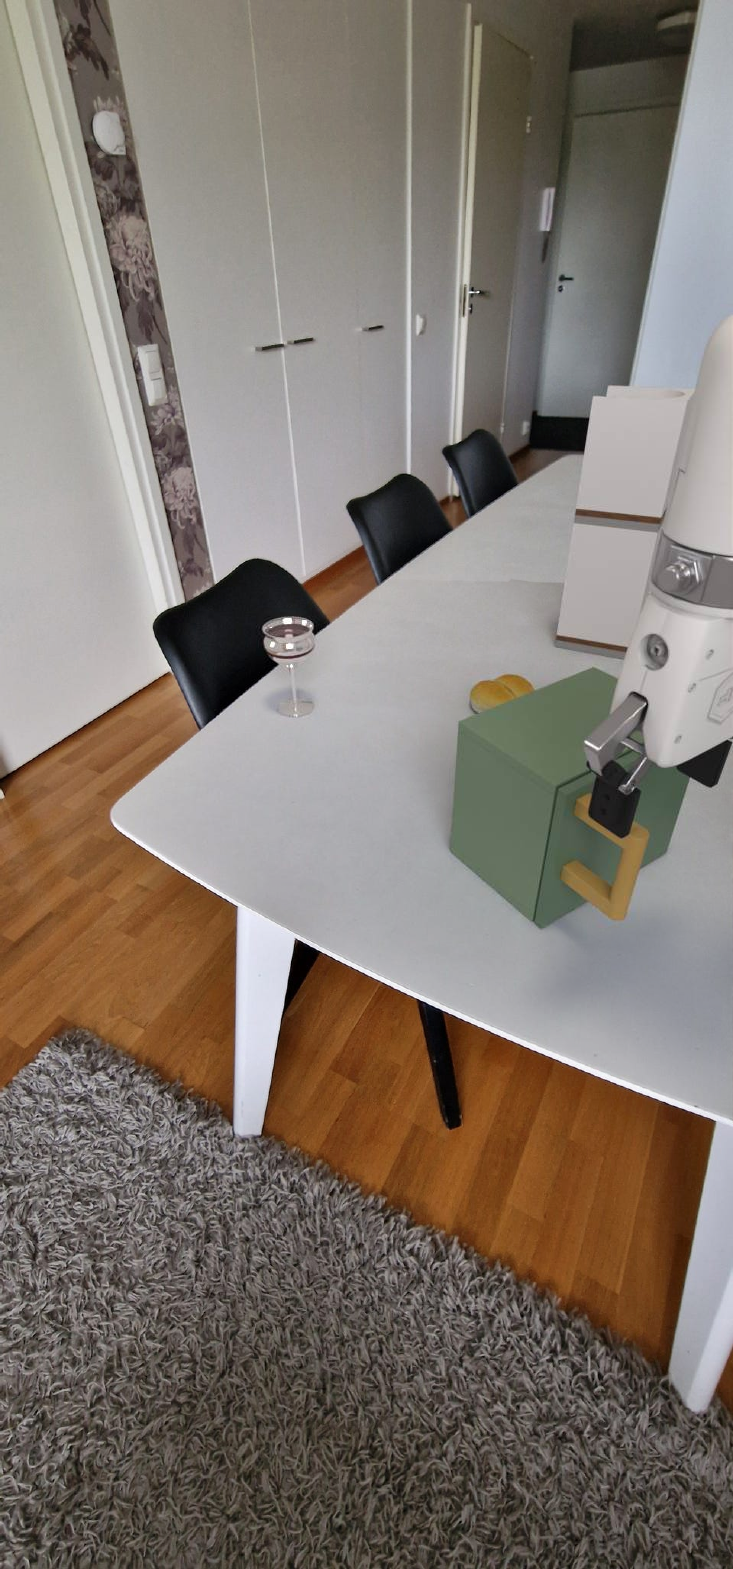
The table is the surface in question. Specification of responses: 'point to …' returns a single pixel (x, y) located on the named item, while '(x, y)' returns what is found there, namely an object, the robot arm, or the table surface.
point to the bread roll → (498, 691)
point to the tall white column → (620, 514)
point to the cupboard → (523, 779)
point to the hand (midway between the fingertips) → (653, 800)
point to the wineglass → (290, 654)
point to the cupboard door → (606, 845)
